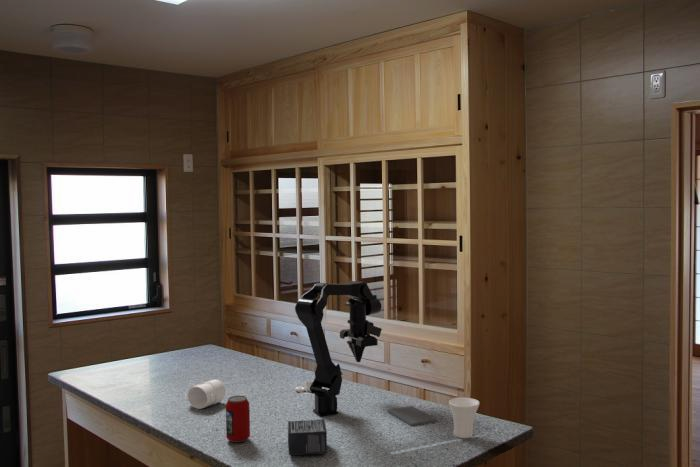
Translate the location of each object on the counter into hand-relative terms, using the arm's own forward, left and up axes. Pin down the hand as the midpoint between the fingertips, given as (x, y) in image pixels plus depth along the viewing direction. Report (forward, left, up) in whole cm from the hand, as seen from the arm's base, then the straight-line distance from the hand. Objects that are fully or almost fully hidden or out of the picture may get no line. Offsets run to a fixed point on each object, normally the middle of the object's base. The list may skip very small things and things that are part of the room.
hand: (358, 362), depth 224 cm
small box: (-28, -37, -10) cm, 47 cm away
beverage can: (-48, -19, -13) cm, 53 cm away
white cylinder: (-50, +19, -13) cm, 55 cm away
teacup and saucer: (-12, +20, -14) cm, 27 cm away
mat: (+7, -25, -13) cm, 29 cm away
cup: (+12, -46, -13) cm, 50 cm away
